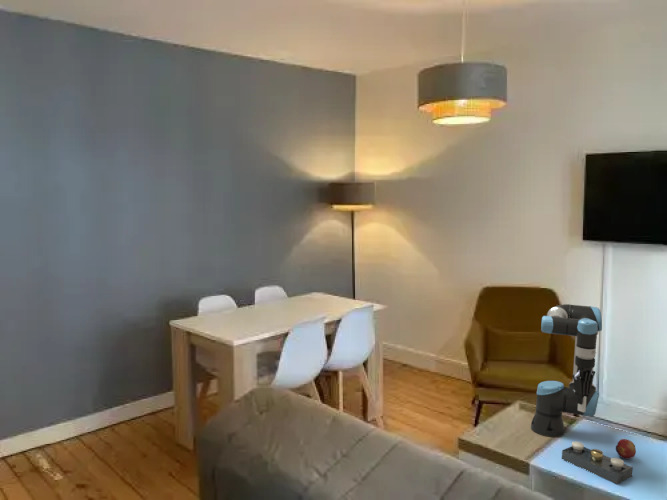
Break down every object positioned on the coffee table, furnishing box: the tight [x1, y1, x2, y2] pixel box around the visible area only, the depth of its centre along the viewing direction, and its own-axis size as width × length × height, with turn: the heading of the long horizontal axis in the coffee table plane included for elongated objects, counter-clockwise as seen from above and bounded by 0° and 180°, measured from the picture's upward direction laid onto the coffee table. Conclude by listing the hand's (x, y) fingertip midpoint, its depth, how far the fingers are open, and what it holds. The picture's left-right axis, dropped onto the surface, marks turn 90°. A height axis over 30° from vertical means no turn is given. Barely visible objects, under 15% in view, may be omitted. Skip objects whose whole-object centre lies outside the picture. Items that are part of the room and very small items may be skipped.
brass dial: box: [590, 448, 604, 461], centre depth 226 cm, size 4×4×3 cm
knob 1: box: [571, 441, 585, 454], centre depth 233 cm, size 5×5×6 cm
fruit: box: [615, 438, 637, 460], centre depth 235 cm, size 8×8×8 cm
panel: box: [561, 445, 634, 485], centre depth 226 cm, size 24×11×4 cm, turn 34°
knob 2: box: [610, 457, 625, 471], centre depth 219 cm, size 5×5×6 cm
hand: (581, 410), depth 232 cm, fingers closed
